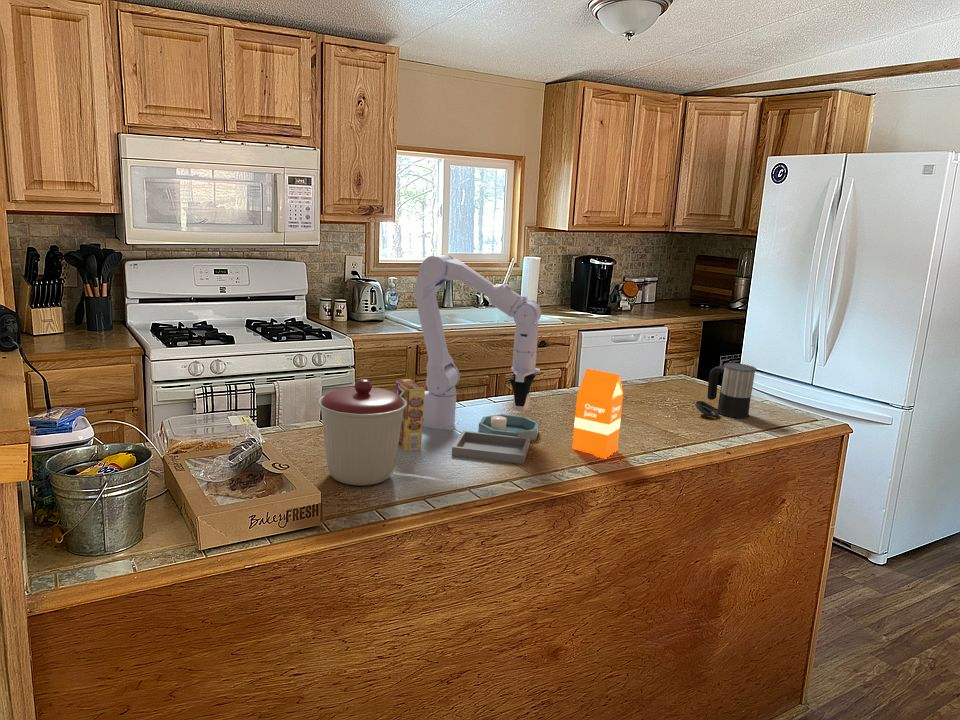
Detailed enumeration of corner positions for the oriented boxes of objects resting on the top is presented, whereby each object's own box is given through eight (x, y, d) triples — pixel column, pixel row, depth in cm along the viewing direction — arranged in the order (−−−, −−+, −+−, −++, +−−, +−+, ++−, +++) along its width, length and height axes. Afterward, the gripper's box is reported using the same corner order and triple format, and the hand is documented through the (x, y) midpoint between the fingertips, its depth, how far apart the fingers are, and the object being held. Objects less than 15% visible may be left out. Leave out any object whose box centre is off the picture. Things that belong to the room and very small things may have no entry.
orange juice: (605, 459, 174) (613, 377, 169) (571, 450, 178) (578, 370, 174) (617, 450, 180) (626, 371, 176) (584, 442, 185) (592, 365, 180)
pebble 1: (489, 432, 186) (490, 419, 185) (491, 428, 190) (491, 415, 189) (505, 434, 186) (505, 421, 185) (506, 429, 189) (507, 416, 189)
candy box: (422, 451, 172) (425, 388, 168) (405, 452, 170) (408, 389, 166) (409, 439, 179) (411, 378, 176) (392, 440, 177) (394, 379, 174)
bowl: (475, 440, 181) (475, 428, 181) (484, 423, 196) (485, 412, 195) (534, 446, 179) (535, 435, 179) (539, 429, 193) (540, 418, 193)
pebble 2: (511, 409, 182) (512, 395, 182) (514, 405, 186) (515, 391, 186) (527, 411, 182) (528, 397, 181) (529, 406, 186) (530, 393, 185)
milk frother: (752, 414, 221) (760, 366, 218) (739, 426, 208) (747, 375, 205) (705, 404, 228) (712, 358, 225) (690, 415, 215) (696, 366, 212)
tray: (451, 457, 169) (452, 447, 168) (462, 440, 181) (462, 430, 180) (523, 466, 166) (524, 455, 165) (529, 448, 178) (530, 438, 178)
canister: (408, 492, 147) (413, 391, 143) (316, 495, 143) (317, 391, 139) (399, 460, 164) (403, 369, 160) (316, 462, 161) (318, 368, 156)
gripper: (538, 357, 173) (533, 413, 176) (544, 346, 187) (539, 397, 190) (508, 355, 174) (504, 409, 177) (516, 343, 188) (512, 394, 191)
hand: (520, 403), depth 184 cm, fingers closed on pebble 2, 4 cm apart
